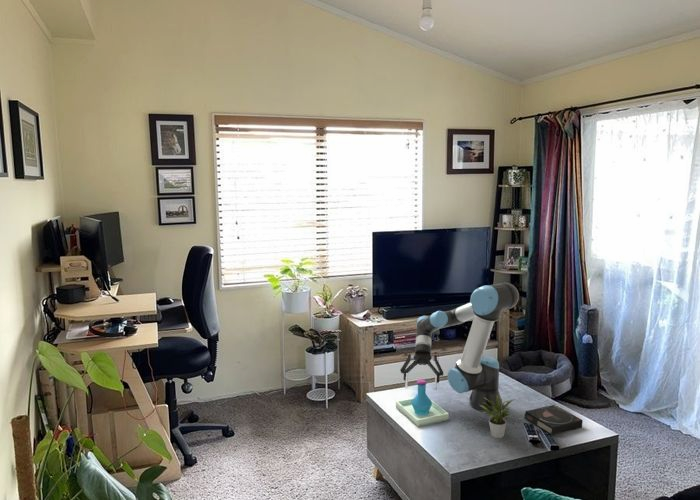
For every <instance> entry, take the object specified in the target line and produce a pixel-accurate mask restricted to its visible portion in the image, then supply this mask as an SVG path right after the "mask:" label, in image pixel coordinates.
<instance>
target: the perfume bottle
mask: <svg viewBox="0 0 700 500" xmlns="http://www.w3.org/2000/svg"><path fill="white" fill-rule="evenodd" d="M416 383H417V394H416V395H415V397H413V398H414V399H413V400H412V406H413V408H414V410H415V411H414V412H415V413H416V414H418V415H426V414H428V413H429V410H430V407H431V405H432V402H431V400H432V399H431V400H430V397H429V396H428V395H427V393H426V390H427V389H426V388H427V387H426V385H427V381H426V380H425V379H422V378H420V379H418V380H417V381H416Z"/></svg>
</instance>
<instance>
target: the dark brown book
mask: <svg viewBox="0 0 700 500" xmlns="http://www.w3.org/2000/svg"><path fill="white" fill-rule="evenodd" d="M524 419H525V420H526V421H527V422H529V423H531V424H533V425H534V426H536V427H537V428H539V429H541V428H542V429H544V430H546V431H547V432H548V433H547V432H546V433H547V434H549V433H550V434H551V435H550V434H549V435H550V436H555V435H558V434H563V433H566V432H570V431H575V430H578V429H583V419H582V418H580V417H578V416H576V415H574V414H572V413H570V412H569V411H567V410H565V409H563V408H562V407H559V406H558V405H556V404H551V405H546V406H543V407H538V408H534V409H529V410H525V414H524ZM542 429H541V430H542ZM544 430H543V431H544Z"/></svg>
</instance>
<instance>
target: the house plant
mask: <svg viewBox="0 0 700 500" xmlns="http://www.w3.org/2000/svg"><path fill="white" fill-rule="evenodd" d="M483 398H484V397H483ZM485 399H487V398H485ZM487 400H488V402H489V403H490V404H492V405H491V406H493V407H492V408H493V410H494V411H493V410H492V411H490V410H488V409H487V408H485V407H484V406H481V405H480V406H481V407H482V408H483V409H484V410H485V411H483V412H481V413H482V414H488V415H490V418H489V419H488V424H489V429H490V431H489V432H490V435H491V436H492V437H493V438H496V439H501V438H503V437H504V436H505V430H506V428H507V427H506V426H507V420H506V419H504V418H508V419H510V418H511V417H510V414H511V412H510V411H509V410H507V408H508V406H509V405H510V404H511V403H512V401H515V400H516V398H515V399H510V400H505V401H504V402H503V399H502V398H501V402H500V404H499V397H498V395H497V400H496V405H497V406H496V405H495V404H494V405H495V406H494V405H493V403H494V402H493V401H492V402H493V403H492V402H491V401H490V400H489V399H487ZM484 404H486V403H484ZM504 404H505V405H504ZM486 405H487V404H486ZM495 407H496V408H495ZM509 413H510V414H509Z"/></svg>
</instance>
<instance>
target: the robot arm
mask: <svg viewBox="0 0 700 500" xmlns="http://www.w3.org/2000/svg"><path fill="white" fill-rule="evenodd" d="M519 300H520V292H519V290H518V289H517V287H516V286H514V285H513V284H512V283H509V282H500V283H495V284H490V285H489V284H488V285H487V284H486V285H482V286H480V287H477V288H476V289H475V290H473V292H472V293H471V295H470V300H469V302H467V303H466V304H462V305H460V306H458V307H456V308H454V309H450V310H447V311H442V310H437V311H435V312H433V313H431V315H430V316H429V315H422V316H420V317H418V318H417V321H416V322H417V323H416V334H415V335H416V336H415V350H414V355H413V354H411V353H408V355H407V358H406V360H405V362H404V363H403V365H402V367H400V370H399V371H400V373H401V374H402V375H403V381H405V385H404V386H405V389H408V382H409V373H410V372H411V371H412V370H413V369H414V368H415V367H416V366H418V365H419V366H428V367H429V368H430V369H431V371H432V372H433V373H434V391H437V389H438V388H437V386H438V385H437V384H439V383H440V377H441V376H442V377H443V376H444V371H443V369H442V367H441V365H440V362H439V360H438V356H437V355H436V354H435V355H434V356H433V355H432V354H431V353H432V334H433V333H434V332H436V331H437V330H440V329H444V328H448V327H452V326H456V325H457V326H458V325H461V324H464V323H465V322H467V321H469V320H472V324H471V326H470V329H469V332H468V336H467V339H466V342H465V345H464V349H463V352H462V355H461V357H458V358H457V360H456V361H455V362H456V363H455V366H454V367H452V368H450V369H448V371H447V381H448V383H449V385H450V388H452V390H453V391H455V392H456V393H459V394H464V393H469V392H471V394H470V395H469V399H468V401H469V402H468V404H469V405H470V407H471V408H473V409H475V410H477V411H485V410H484V409H483V408H482V407H481V406H484V407H485V408H487V409H488V410H490V411H491V412H494V410H493V408H492V407H493V406H491V405H492V404H490V403H489V402H488V400H487V399H489V400H490V401H491V402H492V401H493V402H494V403H493V402H492V403H493V405H494V404H495V405H496V400H497V395H498V397H499V404H500V402H501V399H502V397H501V393H500V391H499V386H500V385H499V384H500V381H499V377H500V363H499V361H498V359H496V358H494V357H491V356H486V355H484V354H485V351H486V348H487V344H488V342H489V339H490V335H491V333H492V330H493V327H494V324H495V322H497V321H499V319H500V318H501V315H502V311H506V310H509V309H512V308H514V307H515V306H517V304H518V302H519ZM431 355H432V356H431ZM412 360H413V362H412V363H411V364H410V362H411V361H412ZM431 361H433V362H434V363H435V366H436V367H437V368H436V367H435V366H434V365H433V363H432V362H431ZM409 364H410V365H409ZM483 397H484V398H483ZM485 398H487V399H485ZM484 403H486V404H487V405H486V404H484ZM480 405H481V406H480ZM495 405H494V406H495ZM496 406H497V405H496ZM495 408H496V407H495ZM492 410H493V411H492Z"/></svg>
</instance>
